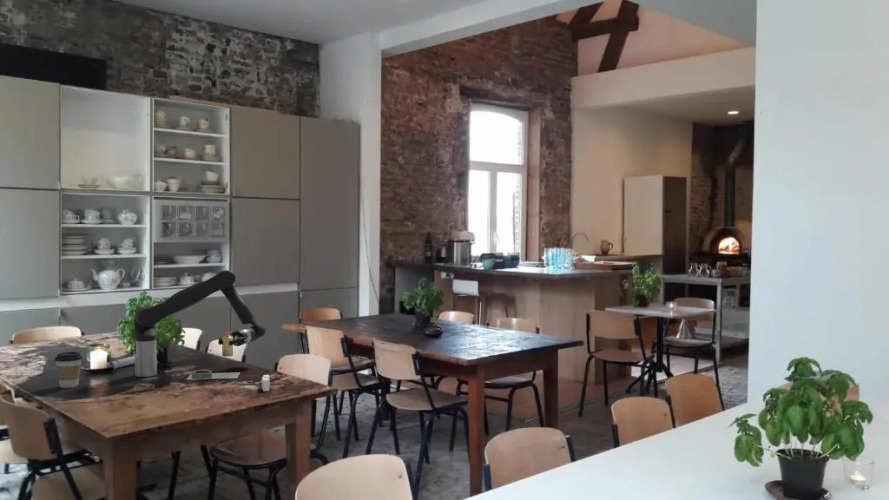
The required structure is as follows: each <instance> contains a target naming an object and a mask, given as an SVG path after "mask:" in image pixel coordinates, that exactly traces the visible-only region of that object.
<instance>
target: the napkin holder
mask: <svg viewBox="0 0 889 500" xmlns="http://www.w3.org/2000/svg"><path fill="white" fill-rule="evenodd" d="M270 379H271V378H270V375H269V374H264V375H263V374H262V377H261V389H262V391H263V392H269V391H270V386H271V385H270V382H271V380H270Z"/></svg>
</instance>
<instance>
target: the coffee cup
mask: <svg viewBox="0 0 889 500" xmlns="http://www.w3.org/2000/svg"><path fill="white" fill-rule="evenodd" d="M82 360H83V355H81V352H79V351H64V352H60V353H57V354H56V356H55V357H54V362H55V364H56V370H57V377H58V383H59V386H60V388H61V389H71V388H76V387H78V386H79V379H80V375H81V374H80V372H81V364H82Z"/></svg>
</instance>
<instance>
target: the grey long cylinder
mask: <svg viewBox="0 0 889 500" xmlns="http://www.w3.org/2000/svg"><path fill="white" fill-rule="evenodd" d="M134 356H135V355H132V356H129V357H124V358H120V359H115V360H113V361H110V362H109V363H108V366H109V365H112V366H113V369H112V370H115V369H116V370H117V369H120V368H123V367H127V366H128V365H131V364H135V357H134Z"/></svg>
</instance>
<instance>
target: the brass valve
mask: <svg viewBox="0 0 889 500" xmlns="http://www.w3.org/2000/svg"><path fill="white" fill-rule="evenodd" d="M231 334H232V332H231V331H226V332H224V335H225V336H223V337H222V336H221V337H222V344H221V356H222V357H228V358H229V357H234V345H230V340H233V336H230V335H231Z"/></svg>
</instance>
